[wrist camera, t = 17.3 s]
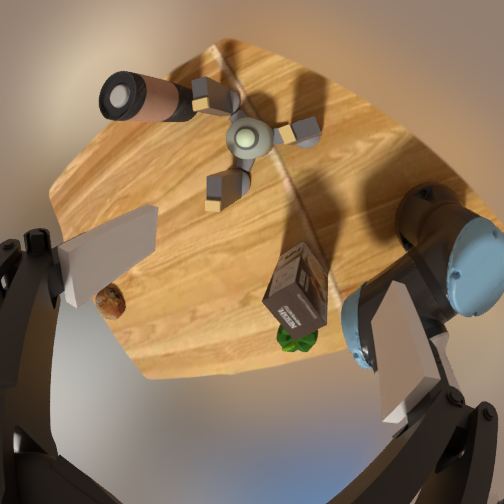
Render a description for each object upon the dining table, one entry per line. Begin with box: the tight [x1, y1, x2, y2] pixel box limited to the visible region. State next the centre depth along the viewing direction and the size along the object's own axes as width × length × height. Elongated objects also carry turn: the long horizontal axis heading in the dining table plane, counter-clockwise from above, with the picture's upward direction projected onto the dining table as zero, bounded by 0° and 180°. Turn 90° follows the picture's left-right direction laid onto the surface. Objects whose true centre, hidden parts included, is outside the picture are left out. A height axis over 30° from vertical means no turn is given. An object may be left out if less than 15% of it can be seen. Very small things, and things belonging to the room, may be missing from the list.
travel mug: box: [99, 71, 197, 122], centre depth 38 cm, size 8×8×20 cm
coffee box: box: [262, 241, 328, 340], centre depth 46 cm, size 9×6×16 cm
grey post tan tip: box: [191, 76, 240, 116], centre depth 39 cm, size 5×5×12 cm
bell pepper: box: [277, 325, 318, 352], centre depth 54 cm, size 8×8×10 cm
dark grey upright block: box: [278, 116, 322, 148], centre depth 38 cm, size 5×5×12 cm
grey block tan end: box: [205, 169, 251, 212], centre depth 45 cm, size 5×5×12 cm
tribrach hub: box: [226, 109, 284, 172], centre depth 43 cm, size 12×11×7 cm
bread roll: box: [96, 288, 125, 320], centre depth 71 cm, size 10×10×8 cm
